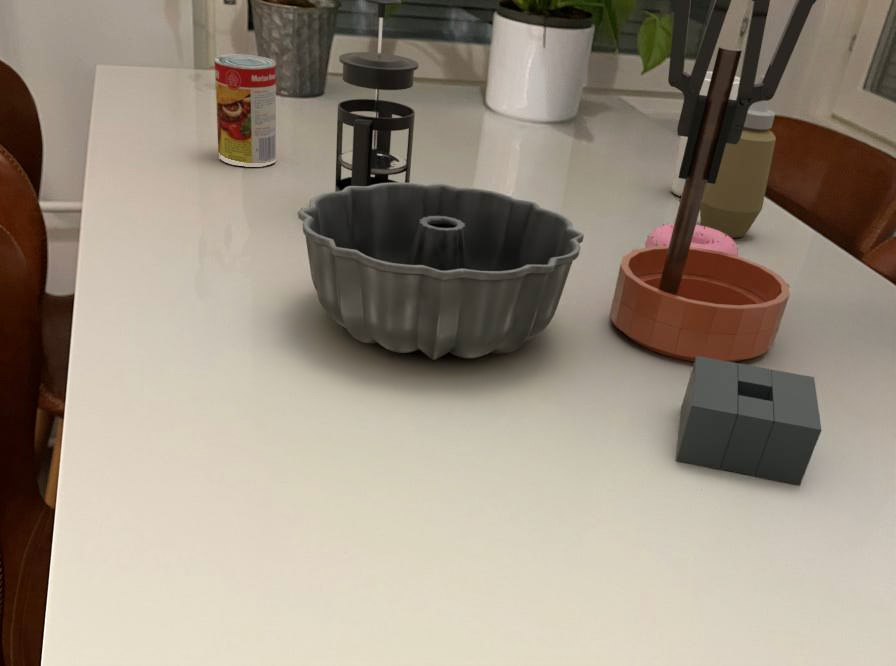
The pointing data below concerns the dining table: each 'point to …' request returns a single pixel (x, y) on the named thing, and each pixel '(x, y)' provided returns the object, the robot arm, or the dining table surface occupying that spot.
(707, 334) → the bowl
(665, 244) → the doughnut
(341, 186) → the french press
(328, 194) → the bundt pan
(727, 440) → the holder
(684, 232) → the stick
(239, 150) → the canned food
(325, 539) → the dining table surface
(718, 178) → the squeeze bottle
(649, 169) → the dining table surface
